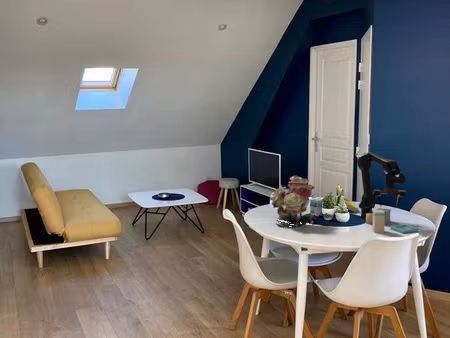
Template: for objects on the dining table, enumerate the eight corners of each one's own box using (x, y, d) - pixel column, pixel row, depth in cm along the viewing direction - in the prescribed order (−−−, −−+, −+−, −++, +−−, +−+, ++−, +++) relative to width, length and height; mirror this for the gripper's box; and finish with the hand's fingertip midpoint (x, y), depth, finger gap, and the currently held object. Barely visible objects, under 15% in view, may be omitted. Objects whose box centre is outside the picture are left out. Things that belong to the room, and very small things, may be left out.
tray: (390, 229, 295) (390, 226, 295) (405, 227, 299) (405, 224, 299) (403, 233, 285) (403, 230, 285) (418, 231, 289) (418, 228, 289)
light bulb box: (317, 216, 330) (317, 200, 329) (309, 214, 335) (309, 199, 334) (327, 213, 337) (327, 198, 335) (319, 212, 342) (319, 196, 341)
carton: (372, 230, 294) (372, 210, 292) (382, 230, 293) (382, 210, 292) (374, 232, 288) (374, 212, 286) (384, 232, 288) (384, 212, 286)
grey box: (373, 223, 308) (374, 210, 307) (378, 220, 315) (379, 208, 314) (386, 225, 304) (386, 212, 302) (390, 222, 310) (391, 209, 309)
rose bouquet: (269, 218, 327) (268, 173, 323) (314, 218, 326) (314, 172, 322) (271, 229, 302) (271, 179, 297) (320, 228, 301) (320, 178, 296)
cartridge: (364, 223, 309) (365, 214, 308) (367, 222, 312) (367, 212, 311) (371, 224, 306) (372, 215, 305) (374, 223, 309) (374, 213, 309)
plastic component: (359, 209, 339) (346, 203, 337) (354, 218, 340) (341, 212, 339) (351, 201, 358) (338, 195, 357) (346, 210, 359) (334, 204, 358)
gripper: (374, 183, 295) (373, 209, 297) (408, 184, 291) (407, 210, 293) (373, 180, 305) (372, 205, 308) (405, 180, 301) (404, 206, 304)
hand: (388, 207), depth 303 cm, fingers open, 9 cm apart
